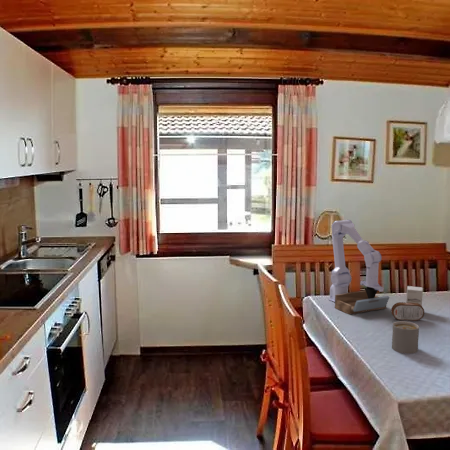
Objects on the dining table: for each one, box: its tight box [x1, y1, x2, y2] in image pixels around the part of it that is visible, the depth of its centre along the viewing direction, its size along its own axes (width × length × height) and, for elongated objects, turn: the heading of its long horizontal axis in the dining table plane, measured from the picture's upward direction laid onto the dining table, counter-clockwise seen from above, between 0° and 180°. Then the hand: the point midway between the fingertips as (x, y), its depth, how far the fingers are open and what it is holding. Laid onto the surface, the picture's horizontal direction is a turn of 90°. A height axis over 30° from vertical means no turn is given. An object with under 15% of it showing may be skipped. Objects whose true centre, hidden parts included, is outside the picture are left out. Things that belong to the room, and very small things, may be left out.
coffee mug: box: [391, 320, 420, 355], centre depth 204 cm, size 13×10×10 cm
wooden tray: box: [334, 290, 387, 315], centre depth 257 cm, size 12×24×7 cm, turn 115°
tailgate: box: [353, 295, 390, 312], centre depth 249 cm, size 2×20×6 cm, turn 116°
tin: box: [390, 301, 425, 322], centre depth 238 cm, size 15×3×8 cm, turn 84°
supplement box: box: [405, 285, 424, 307], centre depth 249 cm, size 7×7×13 cm
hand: (371, 302), depth 249 cm, fingers closed, pressing on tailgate
